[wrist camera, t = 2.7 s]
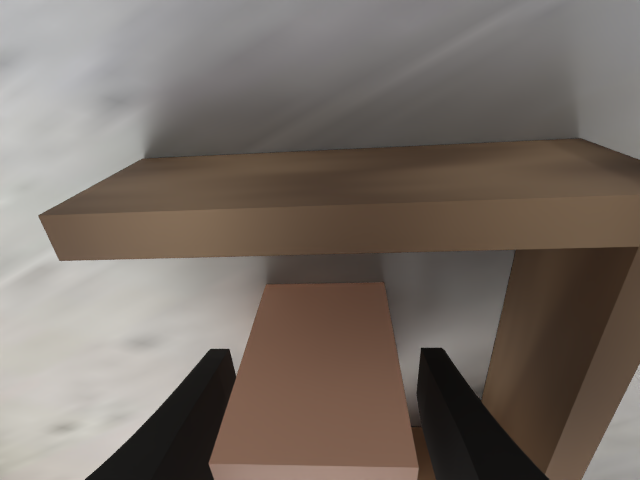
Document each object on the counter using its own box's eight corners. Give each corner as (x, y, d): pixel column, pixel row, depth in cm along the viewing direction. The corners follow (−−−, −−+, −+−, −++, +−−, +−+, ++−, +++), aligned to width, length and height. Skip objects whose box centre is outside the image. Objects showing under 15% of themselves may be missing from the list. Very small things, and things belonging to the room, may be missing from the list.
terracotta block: (384, 281, 12) (418, 467, 7) (381, 367, 14) (406, 565, 8) (265, 284, 12) (208, 463, 7) (279, 367, 14) (241, 559, 9)
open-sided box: (580, 138, 9) (725, 191, 6) (495, 442, 15) (541, 559, 12) (142, 158, 10) (38, 215, 7) (225, 438, 16) (193, 545, 13)
